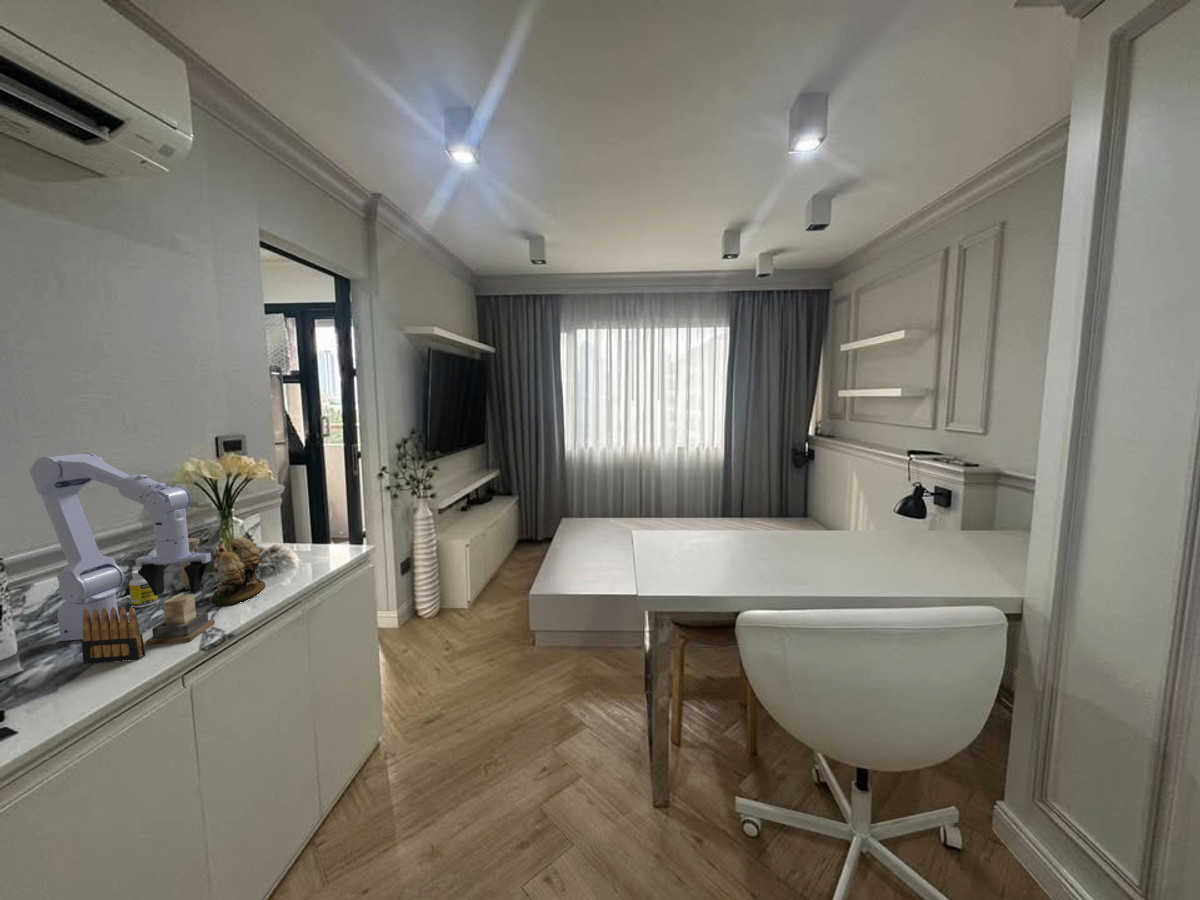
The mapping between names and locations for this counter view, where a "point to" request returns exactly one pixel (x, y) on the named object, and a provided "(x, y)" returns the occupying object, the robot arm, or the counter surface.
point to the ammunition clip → (111, 637)
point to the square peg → (179, 609)
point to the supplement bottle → (141, 592)
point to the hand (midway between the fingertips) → (177, 592)
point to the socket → (180, 630)
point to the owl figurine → (238, 574)
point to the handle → (183, 574)
